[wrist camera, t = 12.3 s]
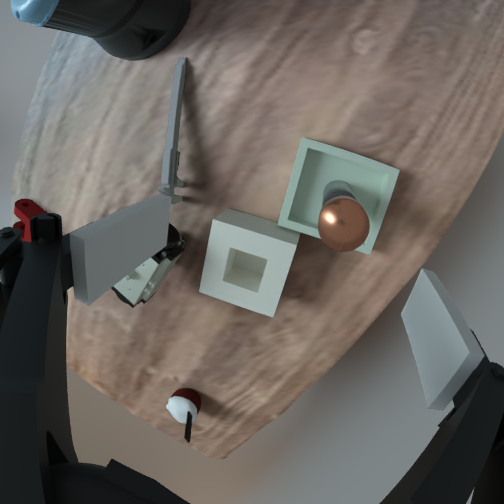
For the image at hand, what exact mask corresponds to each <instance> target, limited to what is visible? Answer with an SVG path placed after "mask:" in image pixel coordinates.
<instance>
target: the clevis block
mask: <svg viewBox="0 0 504 504" xmlns="http://www.w3.org/2000/svg"><path fill="white" fill-rule="evenodd" d="M277 224H278V223H276V222H273V221H270V220H266V219H263V218H260V217H257V216H253V215H250V214H247V213H243V212H240V211H237V210H233V209H230V208H228V209H227V210H225V211H224V212H223V213H221V214H220V215H218V216H217V217H215V218H214V219H213V222H212V226H211V231H210V236H209V241H208V247H207V252H206V257H205V262H204V267H203V273H202V278H201V284H200V289H199V292H201V293H204V294H206V295H209V296H212V297H215V298H217V299H220V300H223V301H226V302H229V303H232V304H234V305H237V306H240V307H243V308H246V309H249V310H252V311H255V312H258V313H261V314H264V315H267V316H270V317H273V316H274V313H275V310H276V307H277V305H278V302H279V299H280V296H281V293H282V290H283V287H284V284H285V281H286V278H287V275H288V272H289V268H290V265H291V262H292V259H293V256H294V253H295V250H296V247H297V244H298V240H299V237H300V234H301V232H298V231H295V230H292V229H289V228H285V227H282V226H279V225H277Z"/></svg>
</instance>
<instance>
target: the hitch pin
mask: <svg viewBox="0 0 504 504" xmlns="http://www.w3.org/2000/svg"><path fill="white" fill-rule="evenodd" d="M369 230H370V222H369V218H368V215H367V213H366V212H365V210H364V208H363V206H362V205H361V204H360V203H359V202H358V201H357V200H356V198H355V196H354V194H353V192H352V190H351V188H350V187H349V185H348V184H347V183H345V182H344V181H341V180H334V181H331V182H329V183H328V184H327V185H326V186H325V188H324V191H323V202H322V208H321V211H320V213H319V219H318V232H319V235H320V237H321V239H322V241H323V242H324V243H325V244H326V245H327V246H328V247H329V248H331V249H333V250H336V251H340V252H348V251H352V250H355V249H357V248H358V247H360V246H361V245H362V244H363V243H364V242H365V240H366V239H367V237H368V234H369Z"/></svg>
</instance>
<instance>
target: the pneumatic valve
mask: <svg viewBox="0 0 504 504" xmlns="http://www.w3.org/2000/svg"><path fill="white" fill-rule="evenodd" d="M181 239H182V237H181V235H180V234H179V232H178V231H177V229H176V228H175V227H174V226H173V225H171V224H170V223H169V226H168V235H167V246H165V247H164V248H163V249H161V250H160V251H159V252H157V253H156V254H155V255H153V256H152V257H150V258H149V259H148V260H147V261H145V262H144V263H143V264H141V265H140V266H139V267H137V268H136V269H135V270H133V271H132V272H131V273H129V274H128V275H127V276H126V277H124V278H123V279H122V280H120V281H119V282H118V283H117V284H115V285H114V286H113V287H111V289H112V290H113V291H115V293H116V295H117V296H118V298H119V299H120V300H122V301H123V302H125V303H127V304H129V305H130V306H131V307H132V308H133V307H135V306H136V305H137V304H139V303H140V302H143V303H144V304H145V303H146V302H147V301H148V300H149V299H150V298H151V297H152V296H153V295H154V294H155V293H156V292H157V290H158V288H159V287H160V285H161V284H162V282H163V281H164V279H165V278H166V276H167V275H168V273H169V272H170V270H171V269H172V267H173V266H174V264H175V263H176V261H177V260H178V258H179V257H180V255H181V254H182V252H183V251H184V248H183V247H184V245H185V244H184V243H185V241H184V240H181Z"/></svg>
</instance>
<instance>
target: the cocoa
mask: <svg viewBox="0 0 504 504" xmlns="http://www.w3.org/2000/svg"><path fill="white" fill-rule="evenodd" d="M200 407H201V400H200V397H199V396H198V394H197V393H195V392H194V391H193V390H190V389H187V388H182V389H179V390H177V391H176V392H175V393H173V395H172V396H171V398H170V399H169V401H168V403H167V407H166V408H167V409H168V410H169V411H170V413H171V414H172V416H173V417H174V418H175V419H176V420H177V421H178V422H180V423H186V428H185V436H184V438H185V439H186V441H187V442H188V443H189V442H190V437H191V427H192V423H194V421H195V420H196V419H197V414H198V413H199V410H200Z"/></svg>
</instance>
